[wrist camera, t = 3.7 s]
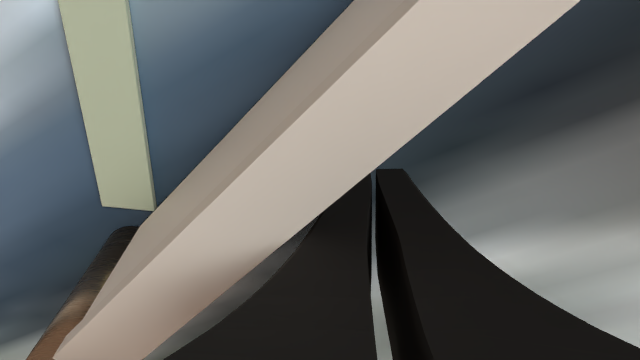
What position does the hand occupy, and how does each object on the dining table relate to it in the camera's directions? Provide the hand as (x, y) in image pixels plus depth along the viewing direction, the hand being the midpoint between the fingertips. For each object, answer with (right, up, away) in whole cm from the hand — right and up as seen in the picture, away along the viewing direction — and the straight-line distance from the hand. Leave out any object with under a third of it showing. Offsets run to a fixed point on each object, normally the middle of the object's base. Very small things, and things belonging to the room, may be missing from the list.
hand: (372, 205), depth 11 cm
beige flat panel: (-2, +2, +1) cm, 3 cm away
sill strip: (-7, +4, 0) cm, 8 cm away
